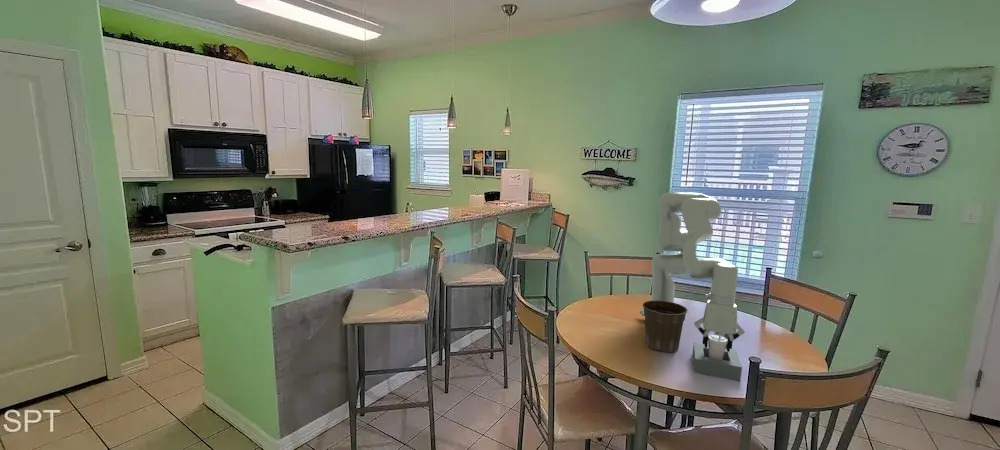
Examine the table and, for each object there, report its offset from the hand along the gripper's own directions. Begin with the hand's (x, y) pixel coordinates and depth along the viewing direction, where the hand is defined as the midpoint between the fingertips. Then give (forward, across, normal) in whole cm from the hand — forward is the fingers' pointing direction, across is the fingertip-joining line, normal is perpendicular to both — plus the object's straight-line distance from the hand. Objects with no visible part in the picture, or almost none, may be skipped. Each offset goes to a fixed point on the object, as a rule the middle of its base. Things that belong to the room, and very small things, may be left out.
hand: (716, 347), depth 147 cm
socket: (+7, 0, 0) cm, 7 cm away
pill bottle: (+8, +4, +23) cm, 24 cm away
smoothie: (+6, 0, 0) cm, 6 cm away
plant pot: (+8, -18, +11) cm, 22 cm away
